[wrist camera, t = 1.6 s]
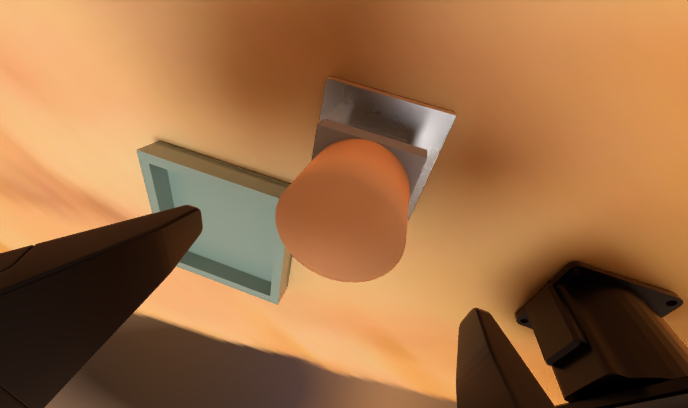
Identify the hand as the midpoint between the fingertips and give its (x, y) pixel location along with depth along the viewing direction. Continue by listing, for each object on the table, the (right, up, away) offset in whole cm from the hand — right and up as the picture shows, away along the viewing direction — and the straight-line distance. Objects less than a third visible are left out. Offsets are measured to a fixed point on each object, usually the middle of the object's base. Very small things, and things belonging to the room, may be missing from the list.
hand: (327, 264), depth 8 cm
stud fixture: (+2, +5, +8) cm, 10 cm away
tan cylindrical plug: (+1, +3, +5) cm, 6 cm away
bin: (-9, 0, +15) cm, 17 cm away
